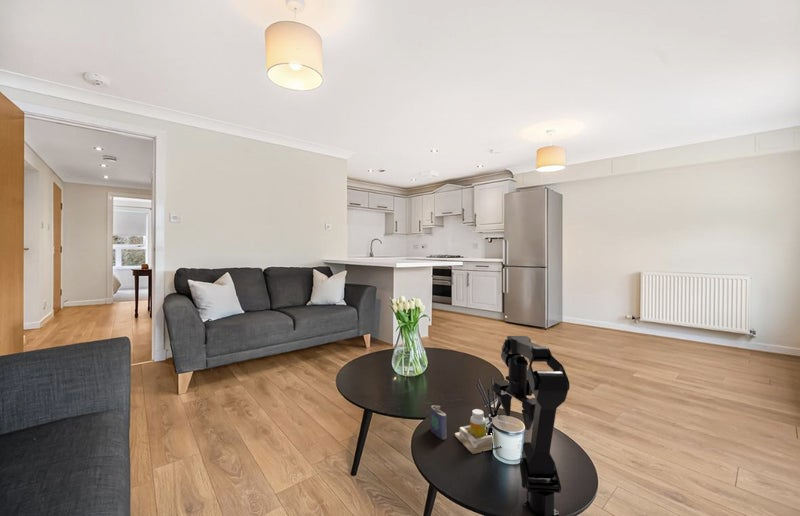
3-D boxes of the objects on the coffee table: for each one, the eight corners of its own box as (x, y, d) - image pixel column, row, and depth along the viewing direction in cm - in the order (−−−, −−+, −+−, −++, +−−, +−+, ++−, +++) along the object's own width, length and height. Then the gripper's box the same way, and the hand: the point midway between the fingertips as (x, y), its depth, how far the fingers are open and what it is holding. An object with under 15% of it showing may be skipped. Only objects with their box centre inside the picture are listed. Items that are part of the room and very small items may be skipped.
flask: (447, 439, 120) (447, 410, 120) (441, 441, 119) (440, 411, 119) (434, 427, 128) (434, 399, 128) (428, 428, 127) (428, 401, 127)
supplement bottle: (482, 444, 115) (482, 416, 115) (467, 439, 118) (467, 412, 118) (487, 437, 119) (487, 410, 119) (473, 432, 122) (473, 406, 122)
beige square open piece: (502, 446, 115) (502, 436, 115) (472, 454, 111) (472, 443, 111) (482, 429, 126) (482, 420, 126) (454, 435, 122) (454, 426, 122)
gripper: (560, 381, 100) (560, 432, 100) (517, 362, 118) (517, 405, 118) (531, 387, 96) (531, 439, 96) (491, 366, 114) (491, 411, 114)
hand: (517, 422), depth 106 cm, fingers open, 9 cm apart
